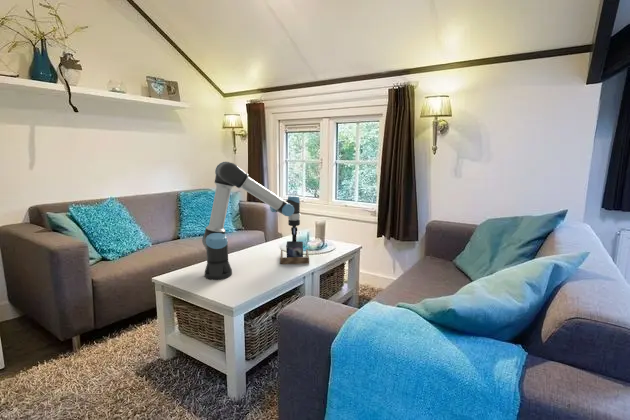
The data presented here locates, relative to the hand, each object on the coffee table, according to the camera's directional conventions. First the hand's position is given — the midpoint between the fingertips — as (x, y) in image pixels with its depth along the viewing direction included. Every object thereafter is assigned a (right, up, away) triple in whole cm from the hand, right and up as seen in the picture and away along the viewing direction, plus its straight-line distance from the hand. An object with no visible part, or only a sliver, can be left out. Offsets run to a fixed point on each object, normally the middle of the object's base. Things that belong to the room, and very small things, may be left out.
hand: (294, 253), depth 228 cm
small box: (+1, -2, -4) cm, 4 cm away
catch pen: (0, -3, -5) cm, 6 cm away
